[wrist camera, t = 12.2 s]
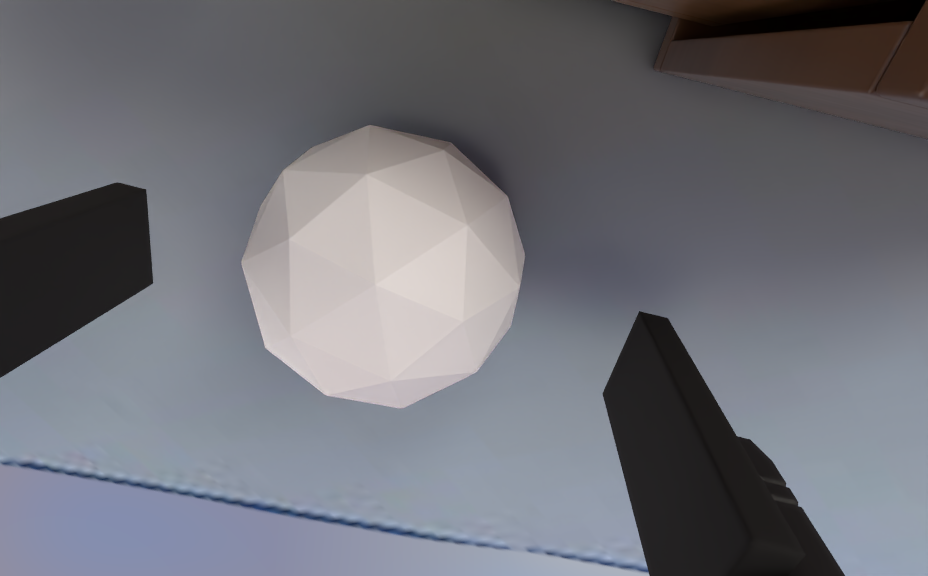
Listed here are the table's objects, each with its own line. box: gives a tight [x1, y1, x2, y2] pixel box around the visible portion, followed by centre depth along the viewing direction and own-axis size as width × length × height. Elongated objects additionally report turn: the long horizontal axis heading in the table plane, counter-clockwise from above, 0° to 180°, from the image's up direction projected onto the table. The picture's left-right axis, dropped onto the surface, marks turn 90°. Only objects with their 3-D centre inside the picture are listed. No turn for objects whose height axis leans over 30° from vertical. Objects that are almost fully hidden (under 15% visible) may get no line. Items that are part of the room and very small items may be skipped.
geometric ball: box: [241, 125, 525, 409], centre depth 14 cm, size 8×8×8 cm
